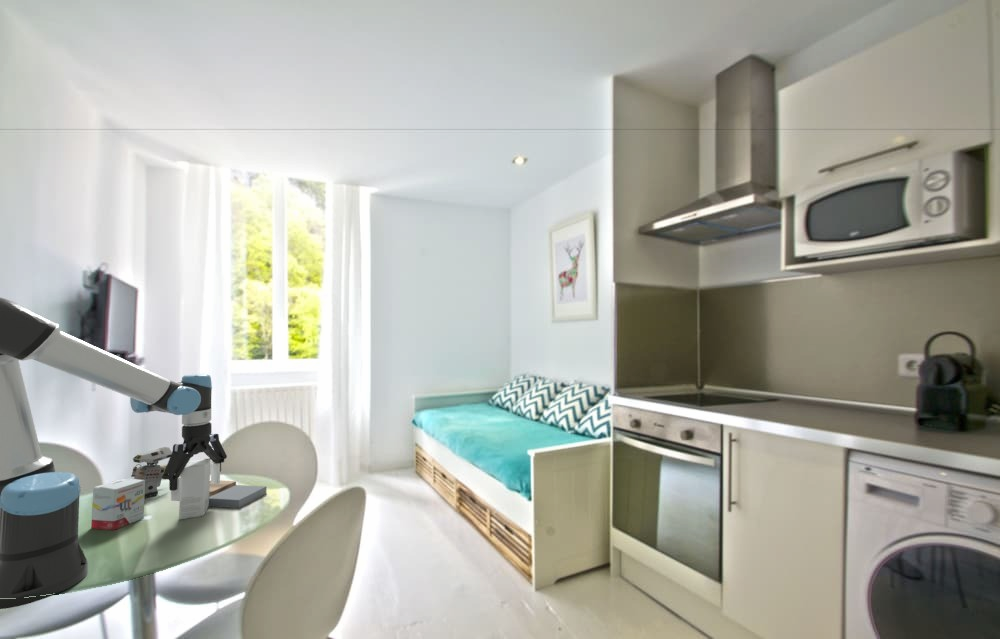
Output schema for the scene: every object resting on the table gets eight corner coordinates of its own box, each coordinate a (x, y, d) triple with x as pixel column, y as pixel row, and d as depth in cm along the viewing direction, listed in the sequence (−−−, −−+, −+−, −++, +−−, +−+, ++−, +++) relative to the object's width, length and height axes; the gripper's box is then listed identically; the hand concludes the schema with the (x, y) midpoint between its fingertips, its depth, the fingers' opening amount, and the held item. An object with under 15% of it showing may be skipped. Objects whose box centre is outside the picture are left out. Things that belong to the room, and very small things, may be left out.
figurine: (177, 489, 146) (178, 448, 147) (136, 500, 137) (137, 456, 137) (168, 485, 151) (169, 444, 152) (128, 495, 142) (129, 452, 142)
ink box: (113, 530, 115) (114, 488, 115) (90, 528, 117) (91, 487, 117) (145, 517, 123) (146, 478, 124) (123, 515, 125) (124, 476, 126)
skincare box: (186, 509, 129) (187, 460, 129) (211, 506, 131) (211, 457, 132) (178, 520, 121) (179, 467, 122) (204, 516, 124) (205, 464, 124)
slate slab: (239, 508, 129) (239, 500, 129) (206, 506, 131) (206, 498, 131) (266, 493, 141) (266, 486, 141) (236, 492, 143) (236, 484, 143)
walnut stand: (211, 500, 135) (212, 491, 136) (186, 499, 137) (186, 490, 137) (235, 489, 145) (236, 481, 145) (211, 488, 147) (211, 480, 147)
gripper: (168, 433, 114) (168, 509, 114) (238, 415, 139) (239, 477, 138) (146, 433, 116) (146, 507, 115) (220, 415, 140) (220, 476, 140)
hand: (196, 491), depth 127 cm, fingers open, 13 cm apart
